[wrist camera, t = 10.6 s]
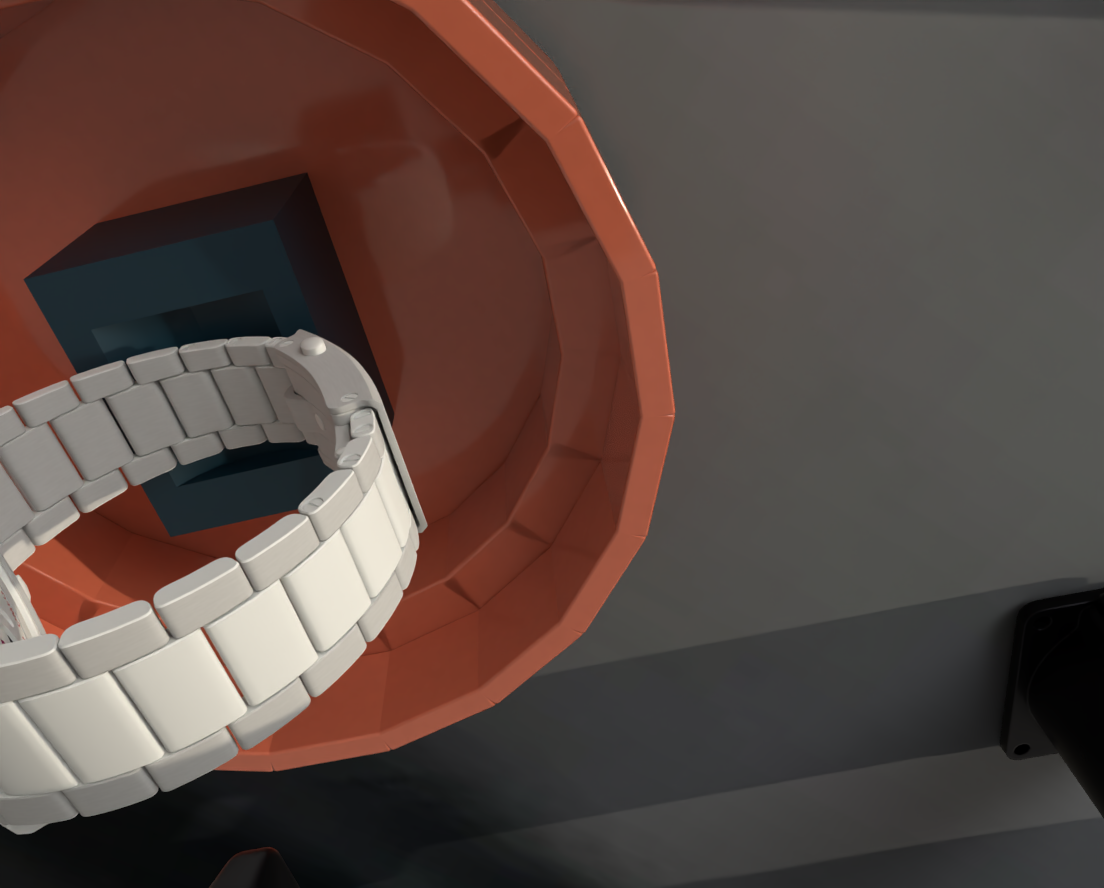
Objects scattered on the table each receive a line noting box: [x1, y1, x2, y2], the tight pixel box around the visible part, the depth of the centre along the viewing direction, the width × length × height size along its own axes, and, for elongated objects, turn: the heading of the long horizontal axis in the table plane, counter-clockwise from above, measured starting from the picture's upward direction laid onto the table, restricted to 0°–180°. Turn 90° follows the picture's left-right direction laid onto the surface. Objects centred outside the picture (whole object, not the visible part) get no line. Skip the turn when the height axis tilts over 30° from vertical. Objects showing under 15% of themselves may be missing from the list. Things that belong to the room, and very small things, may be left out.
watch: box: [0, 173, 428, 834], centre depth 14 cm, size 6×8×11 cm
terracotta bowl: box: [0, 0, 675, 772], centre depth 16 cm, size 16×16×6 cm
